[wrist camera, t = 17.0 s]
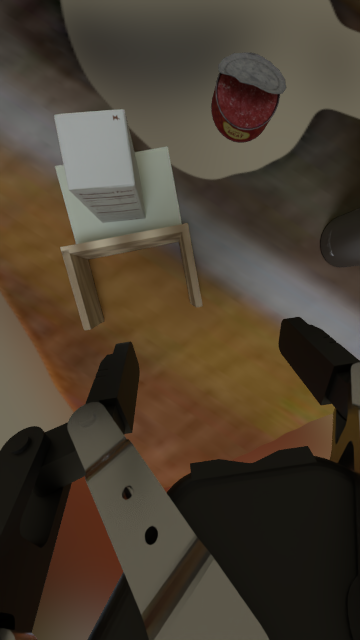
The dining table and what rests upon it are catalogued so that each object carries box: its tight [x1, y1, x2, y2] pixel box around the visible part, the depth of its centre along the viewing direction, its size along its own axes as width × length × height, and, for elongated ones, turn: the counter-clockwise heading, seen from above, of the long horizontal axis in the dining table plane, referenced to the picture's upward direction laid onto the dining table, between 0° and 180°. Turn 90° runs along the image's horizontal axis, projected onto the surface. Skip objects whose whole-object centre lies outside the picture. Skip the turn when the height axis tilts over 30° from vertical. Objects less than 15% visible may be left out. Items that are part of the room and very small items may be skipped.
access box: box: [60, 223, 202, 330], centre depth 34 cm, size 18×12×7 cm, turn 101°
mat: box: [55, 147, 182, 244], centre depth 34 cm, size 18×12×1 cm, turn 101°
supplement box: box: [54, 109, 145, 223], centre depth 28 cm, size 7×7×13 cm
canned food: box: [211, 53, 286, 143], centre depth 31 cm, size 11×10×10 cm
